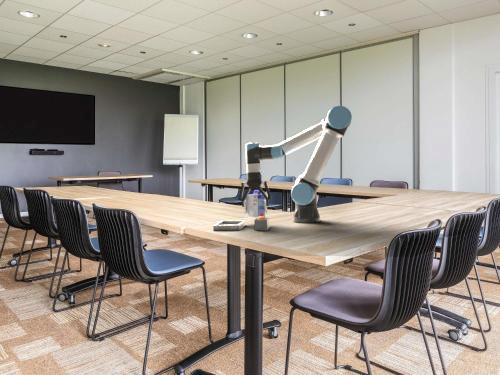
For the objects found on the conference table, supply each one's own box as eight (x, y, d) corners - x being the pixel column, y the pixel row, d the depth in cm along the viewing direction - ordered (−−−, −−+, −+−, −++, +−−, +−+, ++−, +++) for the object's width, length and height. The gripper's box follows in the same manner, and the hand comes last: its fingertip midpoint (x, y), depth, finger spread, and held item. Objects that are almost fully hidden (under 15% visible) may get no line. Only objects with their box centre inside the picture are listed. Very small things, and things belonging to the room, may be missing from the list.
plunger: (266, 226, 203) (265, 216, 203) (265, 227, 200) (264, 217, 200) (259, 226, 204) (258, 216, 204) (257, 227, 201) (257, 217, 200)
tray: (245, 225, 217) (245, 220, 217) (238, 230, 201) (238, 225, 200) (222, 225, 220) (221, 220, 220) (213, 230, 203) (213, 225, 203)
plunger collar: (269, 228, 205) (269, 218, 204) (267, 230, 198) (267, 220, 198) (256, 228, 206) (256, 218, 206) (254, 230, 199) (254, 220, 199)
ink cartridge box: (266, 216, 218) (264, 189, 217) (258, 218, 214) (257, 190, 213) (253, 216, 225) (252, 189, 224) (246, 217, 221) (244, 190, 221)
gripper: (275, 170, 220) (277, 211, 221) (234, 172, 224) (236, 212, 225) (274, 170, 213) (276, 212, 214) (231, 173, 217) (233, 214, 218)
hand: (255, 212), depth 219 cm, fingers closed on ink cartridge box, 10 cm apart
